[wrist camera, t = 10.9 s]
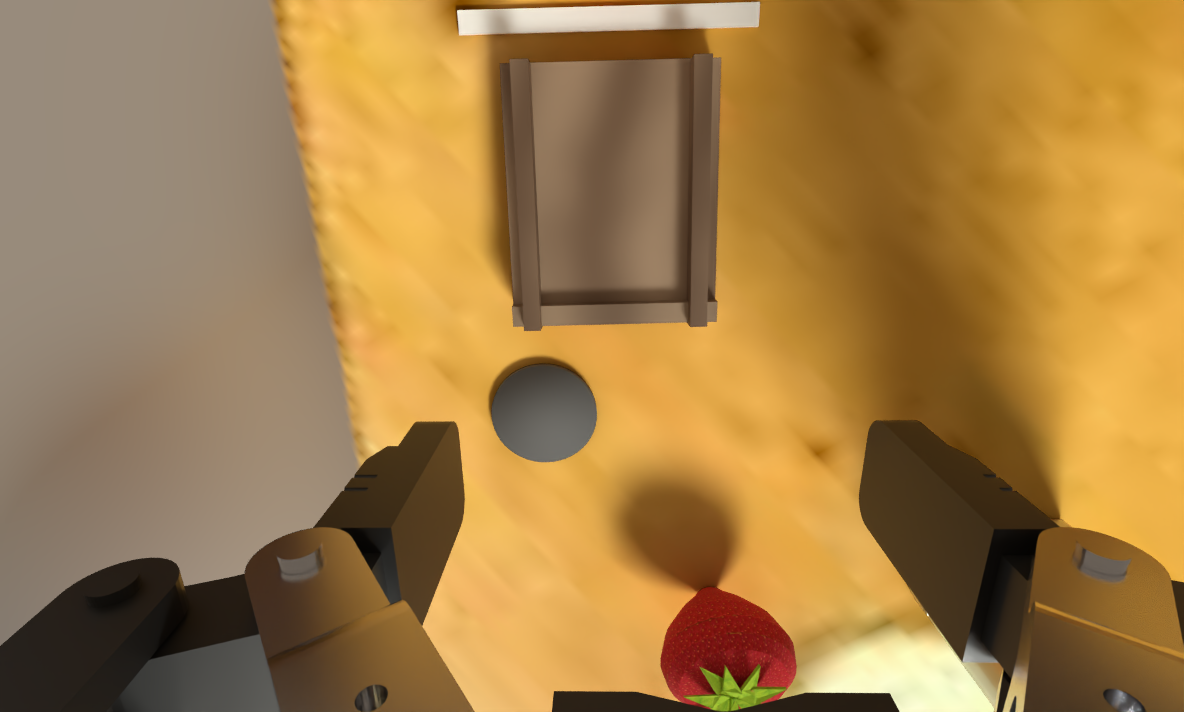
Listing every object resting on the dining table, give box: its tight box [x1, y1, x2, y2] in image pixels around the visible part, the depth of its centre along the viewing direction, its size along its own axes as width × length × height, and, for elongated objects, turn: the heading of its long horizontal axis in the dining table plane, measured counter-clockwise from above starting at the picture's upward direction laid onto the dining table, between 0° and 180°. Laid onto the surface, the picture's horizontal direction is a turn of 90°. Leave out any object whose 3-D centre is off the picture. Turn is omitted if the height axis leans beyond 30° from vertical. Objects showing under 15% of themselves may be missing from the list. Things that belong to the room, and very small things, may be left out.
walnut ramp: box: [500, 54, 721, 331], centre depth 28 cm, size 10×12×4 cm
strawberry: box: [661, 587, 797, 711], centre depth 34 cm, size 6×8×10 cm
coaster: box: [492, 364, 597, 462], centre depth 34 cm, size 6×6×1 cm
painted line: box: [457, 2, 760, 35], centre depth 28 cm, size 14×1×1 cm, turn 91°
